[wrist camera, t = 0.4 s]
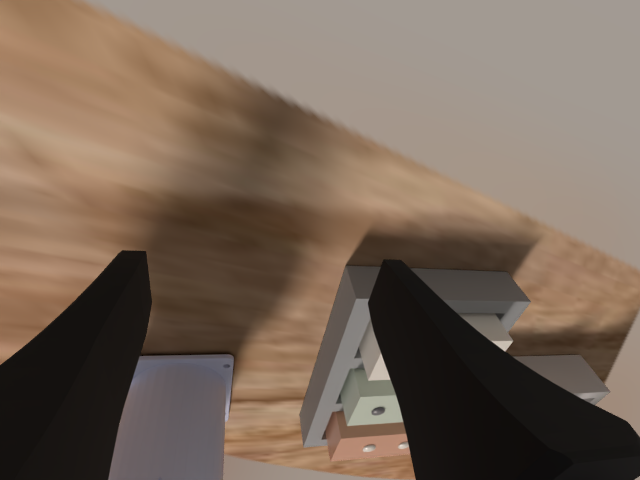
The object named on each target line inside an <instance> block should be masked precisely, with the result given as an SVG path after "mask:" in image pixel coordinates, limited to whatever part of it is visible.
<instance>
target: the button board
mask: <svg viewBox="0 0 640 480" xmlns="http://www.w3.org/2000/svg"><path fill="white" fill-rule="evenodd" d="M380 268H381V267H373V266H347V265H346V266H345V269H344V273H343V276H342V279H341V282H340V286H339V289H338V292H337V295H336V299H335V302H334V305H333V308H332V311H331V315H330V318H329V321H328V324H327V328H326V331H325V334H324V337H323V341H322V344H321V347H320V350H319V354H318V357H317V360H316V363H315V367H314V370H313V373H312V376H311V379H310V383H309V386H308V389H307V392H306V396H305V399H304V402H303V405H302V409H301V412H300V423H301V431H302V439H303V447H313V446H326V445H328V444H327V438H326V432H325V429H326V426H327V424H328V422H329V419H330V417H331V414H332V412H336V411H344V410H343V405H342V401H341V396H340V392H341V389H342V387H343V384H344V382H345V379H346V377H347V375H348V372H349V370H350V368H364V364H363V361H362V357H361V354H360V350H359V345H360V342H361V340H362V337H363V335H364V332H365V330H366V328H367V325H368V323H369V320H370V313H369V308H368V301H369V298H370V295H371V293H372V290H373V287H374V284H375V282H376V279H377V276H378V273H379V271H380ZM410 269H411V270H412V271H413V272H414V273H415V274H416V275H417V276H418V277H419V278H420V279H421V280H422V281H423V282H424V283H425V284H427V285H428V286H429V287H430V288H431V289H432V290H433V291H434V292H435V293H436V294H437V295H438V296H439V297H440V298H441V299H442V300H443V301H444V302H445V303H446V304H448V305H449V306H450V307H451V308H452V309H453V310H454V311H455V312H456V313H495V314H496V316H497V317H498V319H499V320H500V322H501V323H502V325H503V326H504V328H505V329H506V331H507V332H509V330H510V329H511V328H512V326H513V325H514V324H515V322H516V321H517V320H518V318H519V317H520V316H521V314H522V313H523V312H524V310H525V309H526V308H527V306H528V305H529V304H530V302H531V301H530V300H529V299H528V298H527V296H526V295H525V294H524V292H523V291H522V290H521V289H520V287H519V286H518V285H517V284H516V282H515V281H514V280H513V279H512V277H511V276H510V275H509V274H508V272H498V271H473V270H448V269H423V268H410Z"/></svg>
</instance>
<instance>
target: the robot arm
mask: <svg viewBox="0 0 640 480" xmlns="http://www.w3.org/2000/svg"><path fill="white" fill-rule="evenodd" d="M151 305H152V298H151V290H150V281H149V272H148V264H147V255H146V251H125V250H122V251H121V252H120V253H119V254H118V255H117V256H116V257H115V258H114V259H113V260H112V262H111V263H110V264H109V265H108V266H107V267H106V268H105V269H104V271H103V272H102V273H101V274H100V275H99V276H98V277H97V278H96V279H95V280H94V281H93V282H92V284H91V285H90V286H89V287H88V288H87V289H86V290H85V291H84V292H83V293H82V294H81V295H80V296H79V297H78V298H77V299H76V300H75V301H74V302H73V303H72V304H71V305H70V306H69V307H68V308H67V309H66V310H65V311H63V312H62V313H61V314H60V315H59V316H58V317H57V318H56V319H55V320H54V321H53V322H52V323H50V324H49V325H48V326H47V327H46V328H45V329H44V330H43V331H42V332H40V333H39V334H38V335H37V336H36V337H35V338H33V339H32V340H31V341H30V342H29V343H28V344H26V345H25V346H24V347H23V348H21V349H20V350H19V351H18V352H16V353H15V354H14V355H13V356H11V357H10V358H9V359H8V360H6V361H5V362H4V363H2V364H1V365H0V480H223V464H224V436H225V422H226V421H227V420H228V417H229V406H230V396H231V385H232V375H233V364H234V357H233V356H232V355H229V354H217V355H164V356H140V353H141V350H142V347H143V344H144V340H145V337H146V333H147V328H148V322H149V317H150V311H151ZM368 308H369V313H370V318H371V323H372V327H373V331H374V334H375V337H376V340H377V343H378V346H379V349H380V352H381V355H382V357H383V360H384V363H385V366H386V369H387V371H388V374H389V377H390V380H391V383H392V385H393V388H394V391H395V394H396V397H397V400H398V404H399V407H400V411H401V415H402V419H403V423H404V427H405V431H406V435H407V440H408V445H409V449H410V454H411V458H412V463H413V467H414V473H415V478H416V480H634V479H636V478H637V477H639V476H640V437H639V436H638V434H637V433H636V432H635V431H634V429H633V428H632V427H631V425H630V424H629V423H628V422H627V421H625V420H623V419H621V418H619V417H617V416H615V415H613V414H611V413H609V412H607V411H605V410H603V409H601V408H599V407H597V406H595V405H593V404H591V403H589V402H587V401H585V400H583V399H581V398H580V397H578V396H576V395H574V394H572V393H571V392H569V391H567V390H565V389H564V388H562V387H560V386H558V385H556V384H555V383H553V382H551V381H550V380H548V379H546V378H545V377H543V376H541V375H540V374H538V373H537V372H535V371H534V370H532V369H530V368H529V367H527V366H526V365H524V364H523V363H521V362H520V361H518V360H517V359H515V358H514V357H512V356H511V355H509V354H508V353H507V352H505V351H504V350H502V349H501V348H500V347H498V346H497V345H496V344H494V343H493V342H492V341H490V340H489V339H488V338H486V337H485V336H484V335H482V334H481V333H480V332H479V331H477V330H476V329H475V328H474V327H473V326H471V325H470V324H469V323H468V322H467V321H466V320H464V319H463V318H462V317H461V316H460V315H459V314H457V313H456V312H455V311H454V310H453V309H452V308H451V307H450V306H449V305H448V304H446V303H445V302H444V301H443V300H442V299H441V298H440V297H439V296H438V295H437V294H436V293H435V292H434V291H433V290H432V289H431V288H430V287H429V286H428V285H427V284H425V283H424V282H423V281H422V280H421V279H420V278H419V277H418V276H417V275H416V274H415V273H414V272H413V271H412V270H411V269H410V268H409V267H408V266H407V265H406V264H405V263H403V262H402V261H401V260H383V262H382V265H381V268H380V271H379V273H378V276H377V279H376V282H375V284H374V287H373V290H372V293H371V295H370V298H369V301H368ZM119 423H120V424H119Z"/></svg>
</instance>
